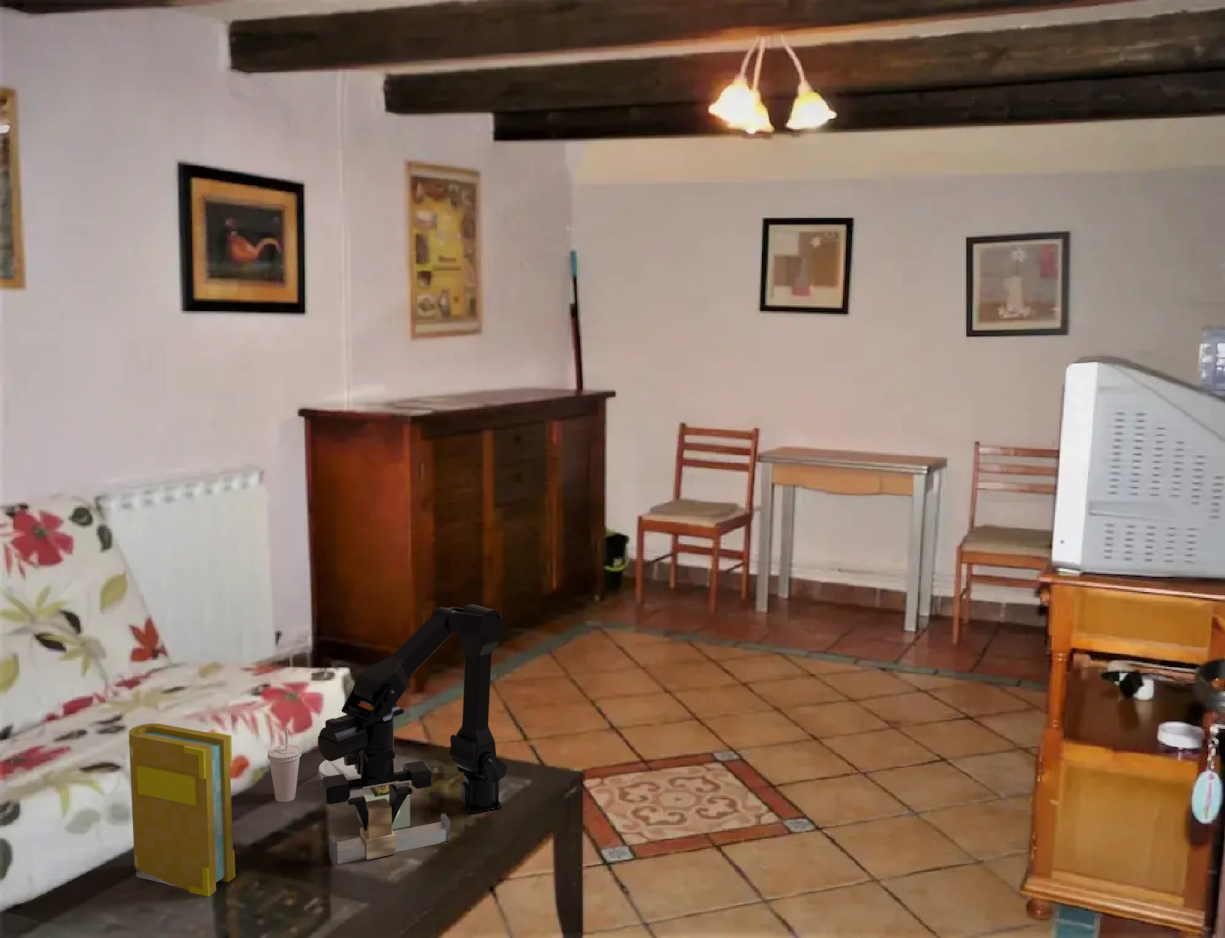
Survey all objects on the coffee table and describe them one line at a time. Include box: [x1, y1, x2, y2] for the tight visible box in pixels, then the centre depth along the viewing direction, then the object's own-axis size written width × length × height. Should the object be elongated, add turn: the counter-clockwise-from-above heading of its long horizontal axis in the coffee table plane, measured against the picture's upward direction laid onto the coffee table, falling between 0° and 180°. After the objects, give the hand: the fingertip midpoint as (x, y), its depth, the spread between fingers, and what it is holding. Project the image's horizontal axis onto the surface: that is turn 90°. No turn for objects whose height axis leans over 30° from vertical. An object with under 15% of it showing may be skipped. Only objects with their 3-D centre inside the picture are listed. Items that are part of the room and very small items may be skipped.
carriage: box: [359, 798, 396, 860], centre depth 189 cm, size 5×5×8 cm
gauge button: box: [375, 785, 389, 797], centre depth 200 cm, size 3×3×4 cm
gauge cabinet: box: [356, 787, 411, 830], centre depth 201 cm, size 8×8×6 cm
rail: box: [328, 812, 451, 866], centre depth 191 cm, size 21×3×4 cm, turn 116°
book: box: [128, 722, 236, 898], centre depth 178 cm, size 17×7×25 cm, turn 71°
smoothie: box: [267, 728, 302, 803], centre depth 209 cm, size 6×6×14 cm
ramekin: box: [318, 757, 361, 781], centre depth 214 cm, size 11×11×5 cm
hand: (377, 827), depth 189 cm, fingers closed on carriage, 4 cm apart
